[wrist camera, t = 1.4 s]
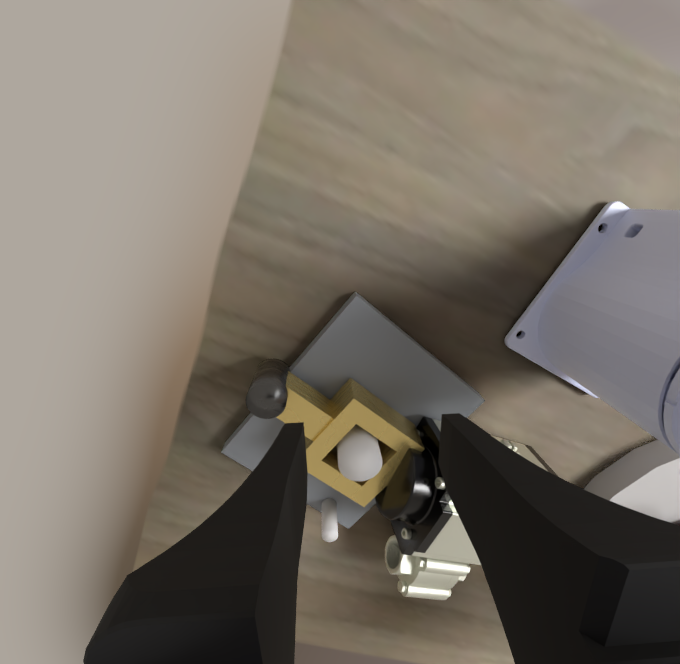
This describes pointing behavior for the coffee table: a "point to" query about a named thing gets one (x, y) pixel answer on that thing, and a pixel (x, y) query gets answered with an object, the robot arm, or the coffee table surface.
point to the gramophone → (643, 482)
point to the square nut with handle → (333, 425)
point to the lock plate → (377, 377)
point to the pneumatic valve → (429, 520)
